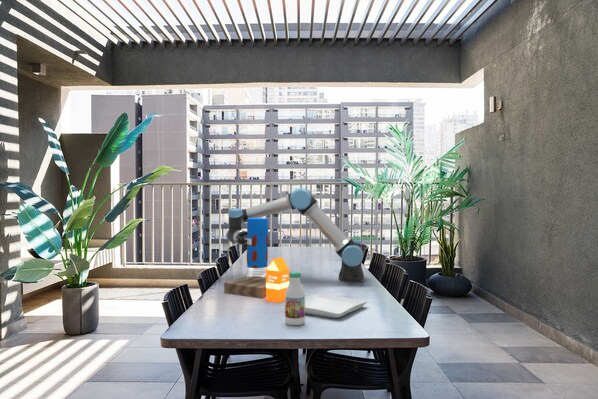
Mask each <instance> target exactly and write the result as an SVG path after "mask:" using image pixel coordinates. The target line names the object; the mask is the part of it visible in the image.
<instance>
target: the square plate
mask: <svg viewBox="0 0 598 399" xmlns="http://www.w3.org/2000/svg"><path fill="white" fill-rule="evenodd" d="M367 303H368V302H367V300H359V299H356V298H355V299H354V298H351V297H350V298H349V297H344V296H339V295H337V296H335V295H328V294H320V293H319V294H318V293H314V294H311V295H308V296H305V313H306V314H305V315H311V314H312V315H313V316H317V315H319V316H318V317H323V316H324V318H330V317H332V319H333V318H335V319H337V318H340V317H344V316H345V315H347V313H348V314H350V313H351V312H355V311H357V310H358V309H360V308H362V307H364V306H365V305H367ZM349 312H350V313H349Z"/></svg>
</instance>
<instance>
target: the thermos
mask: <svg viewBox="0 0 598 399" xmlns="http://www.w3.org/2000/svg"><path fill="white" fill-rule="evenodd" d="M246 231H247V239H252V245H249V244H247V245H246V267H247V268H248V267H249V268H265V267H267V266H268V260H269V256H268V254H269V248H268V247H269V243H268V237H269V235H268V234H269V220H268V218H265V217H261V218H248V219H247V222H246Z"/></svg>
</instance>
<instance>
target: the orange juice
mask: <svg viewBox="0 0 598 399" xmlns="http://www.w3.org/2000/svg"><path fill="white" fill-rule="evenodd" d="M267 266H268V268H267V269H266V297H265V301H266V302H273V303H282V302H285V297H286V290H287V287H288V285H289V282H290V278H289V273H290V268H289V267H288V265H287V263H286V262H285V260H284V257H283V256H280V257H277V258H273V259H272V260H271V261H270V263H269V264H268V265H267Z"/></svg>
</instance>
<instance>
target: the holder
mask: <svg viewBox="0 0 598 399" xmlns="http://www.w3.org/2000/svg"><path fill="white" fill-rule="evenodd" d="M268 266H269V265H267V267H265V268H249V267H247V272H246V277H250V276H260V277H266V269H267V268H268ZM246 277H245V278H246Z"/></svg>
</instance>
